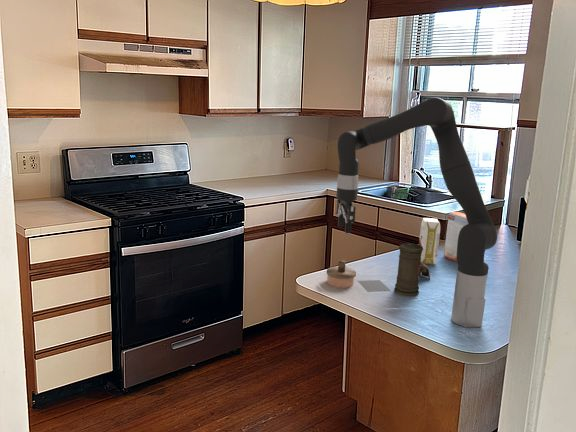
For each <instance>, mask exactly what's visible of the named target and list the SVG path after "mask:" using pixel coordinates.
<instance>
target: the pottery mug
mask: <svg viewBox="0 0 576 432" xmlns="http://www.w3.org/2000/svg"><path fill="white" fill-rule="evenodd" d="M420 277H427V278H428V281H431V275H430V270H429V268H428V266H427V264H423V263H422V262H420V270H419V278H420Z"/></svg>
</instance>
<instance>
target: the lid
mask: <svg viewBox="0 0 576 432" xmlns="http://www.w3.org/2000/svg"><path fill="white" fill-rule="evenodd" d="M346 264H347V263H346V260H342V259H339V260H338V265H337V266H331V267H328V268H327V269H326V275H329V276H331V277H334V278H339V279H350V278H354V279H355V278H356V275H357V271H356V270H355V269H353V268H351V267H346Z"/></svg>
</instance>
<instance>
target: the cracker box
mask: <svg viewBox="0 0 576 432" xmlns="http://www.w3.org/2000/svg"><path fill="white" fill-rule="evenodd" d="M467 224H468V221H467V218H466V215H465V213H463V212H461V211H449V212H448V219H447V227H446V234H445V235H446V236H445V243H444V250H443V256H444V257H445V258H447V259H450V260H452V261H454V262H456V263H457V259H456V256H457V243H458V236H459V232H460V230H461V228H462V227H463V226H465V225H467Z"/></svg>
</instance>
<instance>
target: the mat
mask: <svg viewBox="0 0 576 432" xmlns="http://www.w3.org/2000/svg"><path fill="white" fill-rule="evenodd" d="M357 282H358V283H359V284H360V285H361V286H362V287H363V288H364V290H366V291H367V292H369V293H370V292H391V291H392V290H391V289H390V288H389V287H388V286H387V285H385V283H384V282H383V281H381V280H380V279H377V280H375V279H373V280H372V279H371V280H370V279H369V280H357Z"/></svg>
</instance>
